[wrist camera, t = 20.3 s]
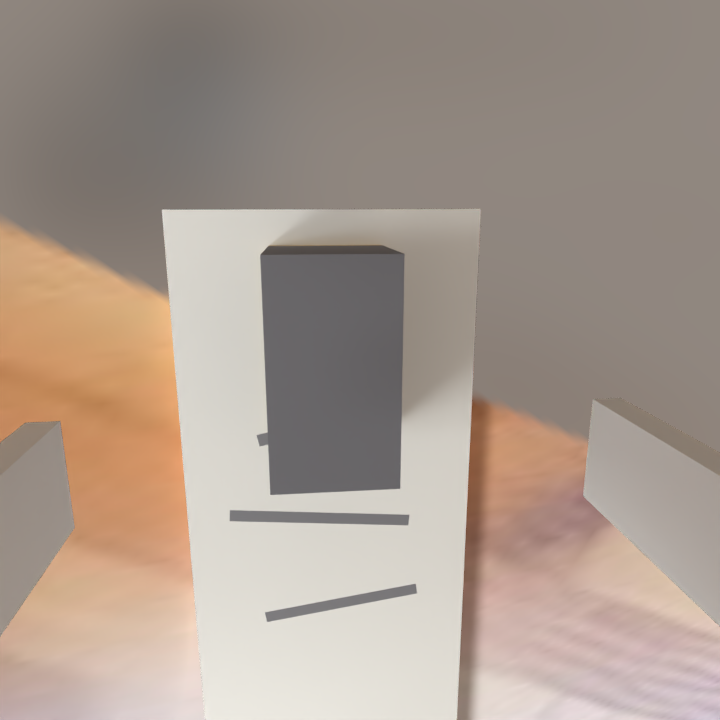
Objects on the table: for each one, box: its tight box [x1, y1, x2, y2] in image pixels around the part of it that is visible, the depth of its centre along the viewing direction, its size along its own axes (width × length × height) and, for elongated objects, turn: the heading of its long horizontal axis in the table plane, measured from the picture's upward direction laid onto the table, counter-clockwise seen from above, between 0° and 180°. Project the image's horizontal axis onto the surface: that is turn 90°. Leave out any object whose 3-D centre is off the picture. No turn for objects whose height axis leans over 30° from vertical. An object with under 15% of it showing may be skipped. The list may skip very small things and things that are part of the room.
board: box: [162, 209, 481, 720], centre depth 30 cm, size 14×32×1 cm, turn 0°
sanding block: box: [260, 245, 405, 495], centre depth 24 cm, size 5×9×6 cm, turn 0°
